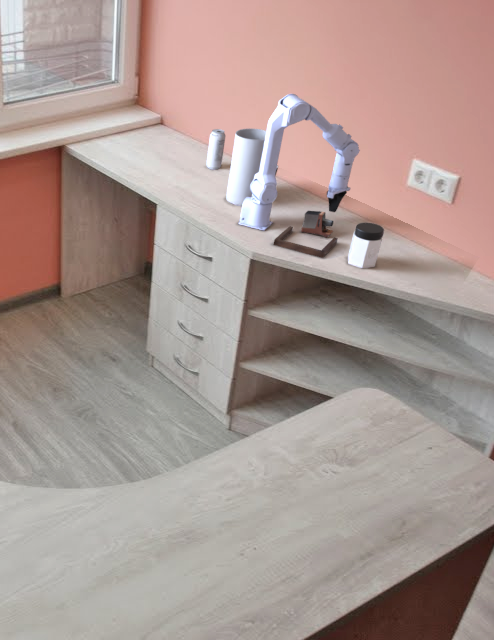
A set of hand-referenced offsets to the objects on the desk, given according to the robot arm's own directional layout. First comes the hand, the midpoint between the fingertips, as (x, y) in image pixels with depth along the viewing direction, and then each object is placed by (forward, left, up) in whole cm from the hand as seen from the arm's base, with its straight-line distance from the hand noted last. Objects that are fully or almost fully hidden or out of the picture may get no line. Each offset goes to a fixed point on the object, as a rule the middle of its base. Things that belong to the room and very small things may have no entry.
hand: (332, 211), depth 278 cm
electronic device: (0, -13, -4) cm, 14 cm away
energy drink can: (-56, +24, -4) cm, 61 cm away
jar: (+19, -26, -4) cm, 33 cm away
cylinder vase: (-32, -1, -4) cm, 32 cm away
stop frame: (0, -23, -3) cm, 24 cm away
